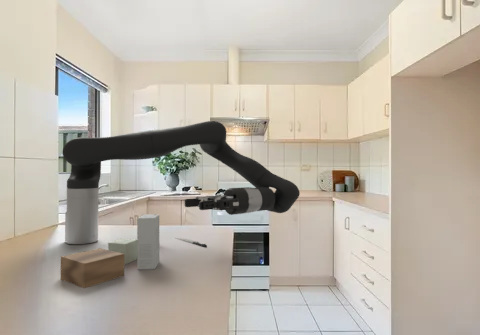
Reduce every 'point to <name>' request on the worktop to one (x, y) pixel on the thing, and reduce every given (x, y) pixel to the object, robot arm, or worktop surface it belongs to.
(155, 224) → the skincare box
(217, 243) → the worktop surface
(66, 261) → the walnut block
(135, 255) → the grey-green cube
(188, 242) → the chef's knife
